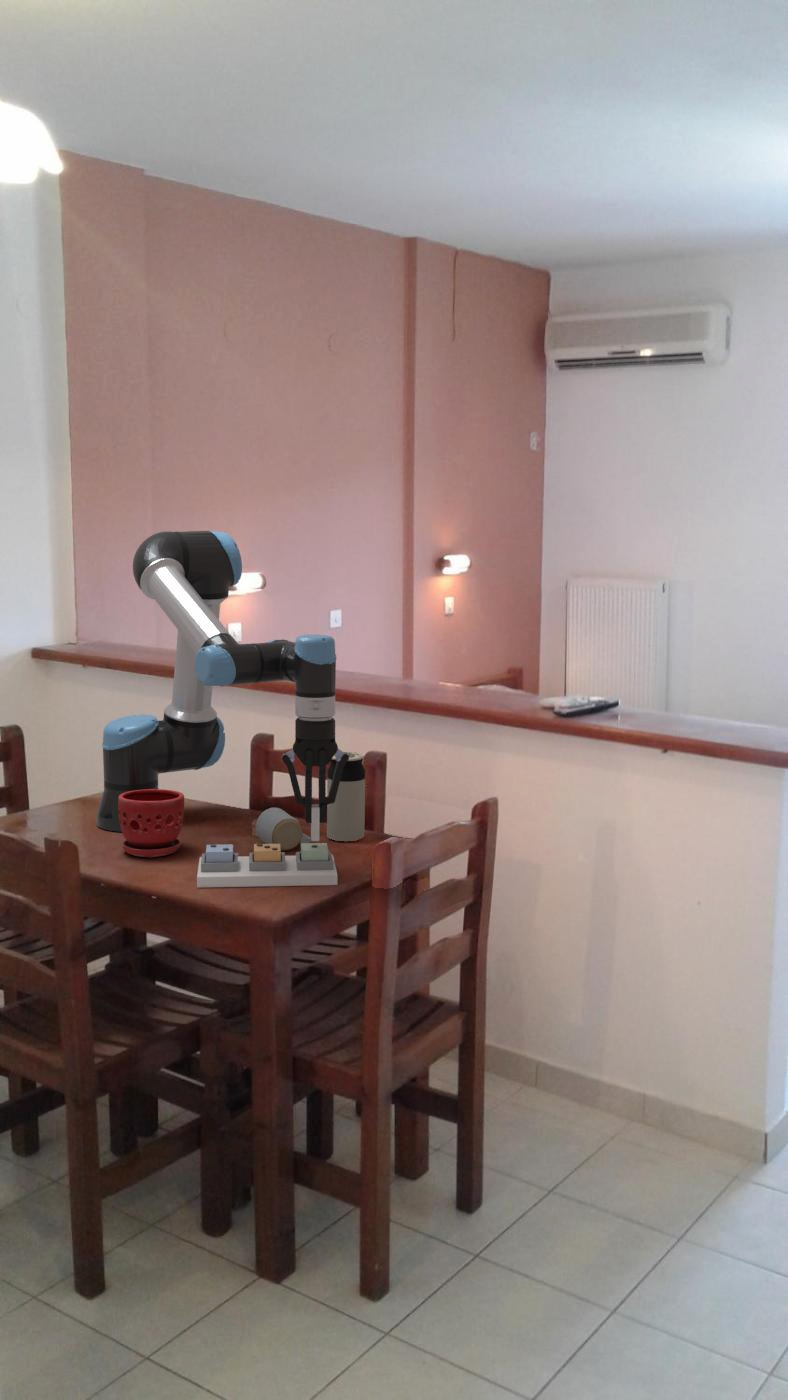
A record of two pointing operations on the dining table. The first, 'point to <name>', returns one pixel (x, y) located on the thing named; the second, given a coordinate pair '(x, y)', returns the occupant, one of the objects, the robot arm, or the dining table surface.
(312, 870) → the tile board
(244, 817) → the dining table surface
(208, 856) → the two dot tile
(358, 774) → the travel mug
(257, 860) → the three dot tile
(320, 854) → the one dot tile
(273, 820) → the ceramic mug
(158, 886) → the dining table surface
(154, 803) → the plant pot
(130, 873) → the dining table surface
